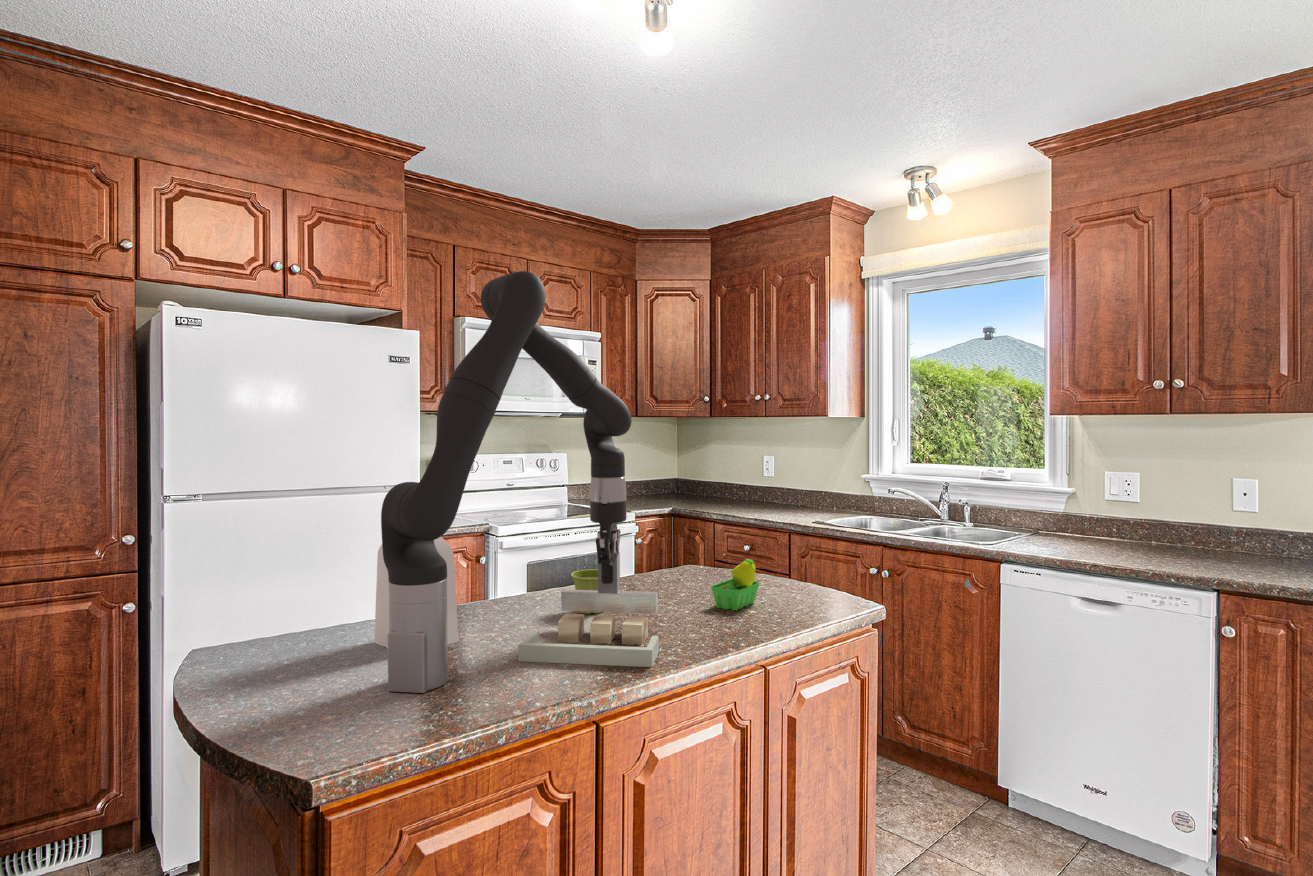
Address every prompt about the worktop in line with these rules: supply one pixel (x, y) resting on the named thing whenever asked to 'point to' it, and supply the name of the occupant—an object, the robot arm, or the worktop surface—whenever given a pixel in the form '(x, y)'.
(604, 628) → the block middle
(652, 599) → the t-shaped handle
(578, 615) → the block left
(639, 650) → the tray
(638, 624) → the block right
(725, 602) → the fruit basket
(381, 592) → the milk
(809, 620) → the worktop surface
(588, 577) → the plant pot
